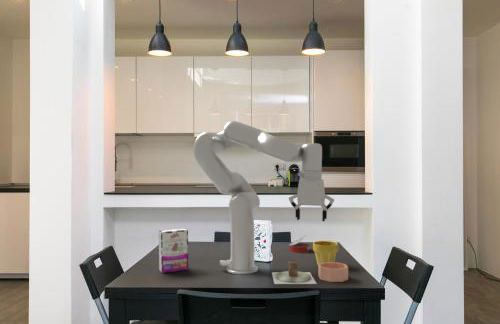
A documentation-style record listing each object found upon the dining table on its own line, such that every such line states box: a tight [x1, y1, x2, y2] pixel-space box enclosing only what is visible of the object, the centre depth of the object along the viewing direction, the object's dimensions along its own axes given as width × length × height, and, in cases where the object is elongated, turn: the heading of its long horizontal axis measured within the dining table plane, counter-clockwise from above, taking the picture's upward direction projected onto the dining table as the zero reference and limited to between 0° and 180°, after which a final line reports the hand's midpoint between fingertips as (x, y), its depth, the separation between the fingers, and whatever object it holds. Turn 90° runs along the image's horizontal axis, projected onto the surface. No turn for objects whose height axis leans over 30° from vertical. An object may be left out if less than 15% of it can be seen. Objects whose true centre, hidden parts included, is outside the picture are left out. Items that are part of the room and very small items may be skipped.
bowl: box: [317, 262, 349, 283], centre depth 146 cm, size 10×10×5 cm
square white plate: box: [271, 271, 318, 285], centre depth 145 cm, size 15×15×1 cm
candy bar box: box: [158, 228, 189, 274], centre depth 158 cm, size 11×5×16 cm, turn 117°
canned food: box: [288, 234, 310, 254], centre depth 195 cm, size 11×10×10 cm
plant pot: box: [312, 240, 339, 266], centre depth 165 cm, size 10×10×10 cm
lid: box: [276, 260, 311, 283], centre depth 146 cm, size 13×13×6 cm
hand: (310, 220), depth 149 cm, fingers open, 9 cm apart
